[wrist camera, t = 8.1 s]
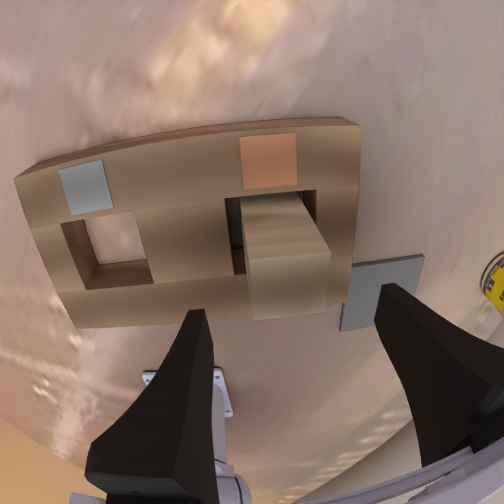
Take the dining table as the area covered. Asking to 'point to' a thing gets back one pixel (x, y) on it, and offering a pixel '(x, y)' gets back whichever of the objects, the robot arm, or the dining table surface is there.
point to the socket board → (187, 214)
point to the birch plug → (283, 256)
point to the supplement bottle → (495, 284)
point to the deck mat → (376, 287)
